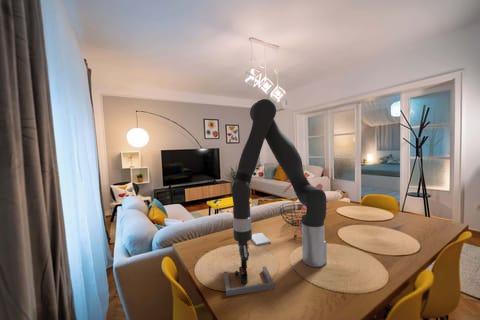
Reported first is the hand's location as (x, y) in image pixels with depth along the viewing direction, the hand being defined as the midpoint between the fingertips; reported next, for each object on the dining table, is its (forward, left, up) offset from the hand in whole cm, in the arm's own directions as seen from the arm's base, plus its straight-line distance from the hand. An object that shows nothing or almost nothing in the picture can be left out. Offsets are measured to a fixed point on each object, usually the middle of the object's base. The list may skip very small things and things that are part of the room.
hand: (244, 267), depth 84 cm
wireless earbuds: (+2, +4, -2) cm, 5 cm away
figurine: (-40, -30, -2) cm, 50 cm away
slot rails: (0, +7, -2) cm, 7 cm away
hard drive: (-13, -26, -2) cm, 29 cm away
